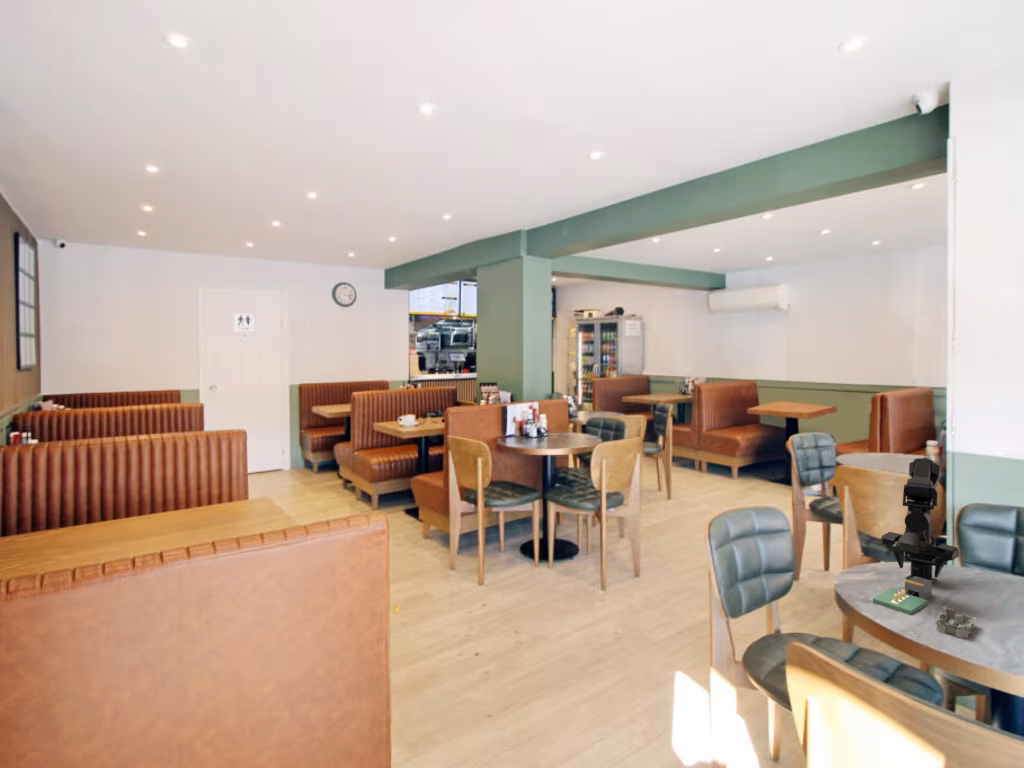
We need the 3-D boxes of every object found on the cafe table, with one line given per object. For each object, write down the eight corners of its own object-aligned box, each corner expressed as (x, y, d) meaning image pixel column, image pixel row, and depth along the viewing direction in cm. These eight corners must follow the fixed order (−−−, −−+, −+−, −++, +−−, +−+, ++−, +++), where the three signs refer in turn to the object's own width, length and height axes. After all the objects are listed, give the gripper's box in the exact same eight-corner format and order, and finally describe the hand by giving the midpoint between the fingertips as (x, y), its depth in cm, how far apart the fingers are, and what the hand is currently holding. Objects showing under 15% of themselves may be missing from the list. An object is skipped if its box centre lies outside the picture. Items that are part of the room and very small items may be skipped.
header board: (889, 592, 173) (889, 581, 173) (927, 604, 165) (927, 593, 165) (872, 602, 167) (872, 591, 167) (910, 614, 159) (911, 603, 159)
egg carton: (944, 618, 157) (945, 603, 157) (978, 628, 151) (978, 613, 151) (931, 630, 151) (932, 615, 150) (966, 641, 145) (966, 625, 144)
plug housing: (914, 590, 174) (914, 575, 174) (931, 595, 171) (932, 579, 170) (904, 596, 171) (904, 580, 170) (922, 601, 167) (922, 585, 166)
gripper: (872, 520, 173) (872, 569, 174) (944, 536, 157) (944, 590, 158) (889, 513, 179) (889, 561, 180) (960, 528, 163) (959, 580, 164)
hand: (918, 572), depth 170 cm, fingers open, 9 cm apart
